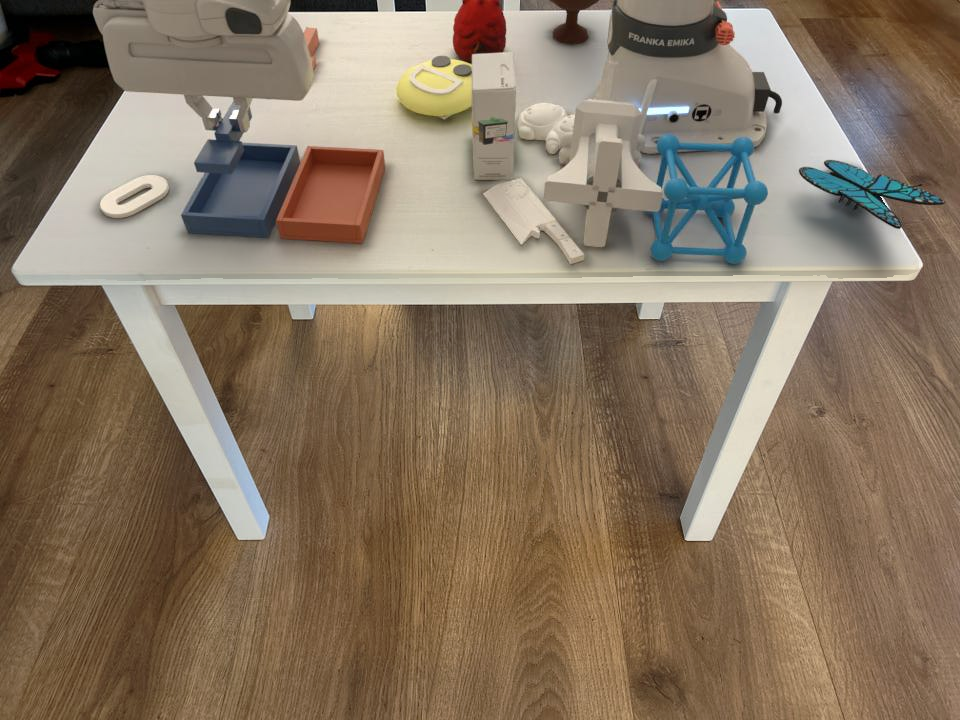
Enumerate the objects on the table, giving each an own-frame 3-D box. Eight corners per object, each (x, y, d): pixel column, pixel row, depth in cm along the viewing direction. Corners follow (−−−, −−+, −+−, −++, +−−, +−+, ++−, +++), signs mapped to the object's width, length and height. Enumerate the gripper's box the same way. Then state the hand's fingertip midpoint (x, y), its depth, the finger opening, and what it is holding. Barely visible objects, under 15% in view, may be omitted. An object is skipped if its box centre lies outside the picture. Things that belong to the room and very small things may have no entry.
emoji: (446, 110, 94) (503, 65, 99) (375, 81, 99) (433, 39, 104) (449, 137, 97) (504, 91, 102) (380, 108, 102) (436, 65, 107)
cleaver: (541, 273, 79) (541, 265, 78) (483, 195, 88) (483, 187, 88) (584, 260, 81) (585, 252, 80) (522, 183, 90) (522, 175, 89)
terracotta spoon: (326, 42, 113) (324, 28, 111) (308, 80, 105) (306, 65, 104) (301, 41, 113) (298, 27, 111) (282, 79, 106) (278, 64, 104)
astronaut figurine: (572, 168, 92) (575, 147, 89) (503, 128, 97) (504, 107, 95) (619, 140, 95) (623, 119, 93) (550, 103, 101) (551, 82, 99)
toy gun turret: (551, 125, 72) (560, 52, 85) (538, 240, 82) (549, 159, 95) (676, 136, 72) (667, 61, 85) (650, 252, 81) (645, 168, 94)
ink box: (471, 140, 96) (470, 50, 87) (511, 140, 96) (513, 50, 87) (472, 181, 90) (471, 89, 81) (514, 180, 90) (517, 88, 81)
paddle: (262, 117, 86) (257, 100, 85) (231, 174, 79) (226, 156, 78) (229, 115, 87) (224, 98, 85) (196, 172, 79) (190, 154, 78)
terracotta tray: (385, 167, 92) (383, 149, 90) (362, 243, 83) (360, 225, 81) (311, 163, 92) (307, 145, 90) (280, 238, 83) (275, 220, 81)
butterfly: (880, 255, 76) (910, 211, 73) (769, 193, 82) (793, 150, 79) (931, 224, 90) (958, 186, 87) (832, 173, 95) (854, 135, 92)
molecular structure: (754, 132, 79) (657, 129, 79) (773, 191, 72) (667, 186, 73) (730, 210, 86) (642, 206, 87) (745, 269, 80) (649, 265, 80)
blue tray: (300, 162, 92) (296, 145, 91) (268, 238, 83) (263, 219, 81) (227, 159, 93) (221, 141, 91) (187, 233, 84) (180, 215, 82)
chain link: (115, 219, 84) (91, 201, 86) (117, 223, 85) (93, 205, 87) (176, 186, 88) (151, 169, 90) (177, 190, 89) (152, 173, 91)
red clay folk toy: (504, 45, 112) (506, -65, 101) (507, 69, 107) (510, -43, 96) (452, 46, 112) (449, -63, 100) (454, 70, 107) (450, -42, 96)
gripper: (71, 9, 70) (124, 139, 81) (287, 19, 69) (312, 150, 79) (100, -20, 74) (146, 108, 85) (304, -11, 73) (326, 117, 83)
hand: (228, 128), depth 82 cm, fingers closed on paddle, 1 cm apart
